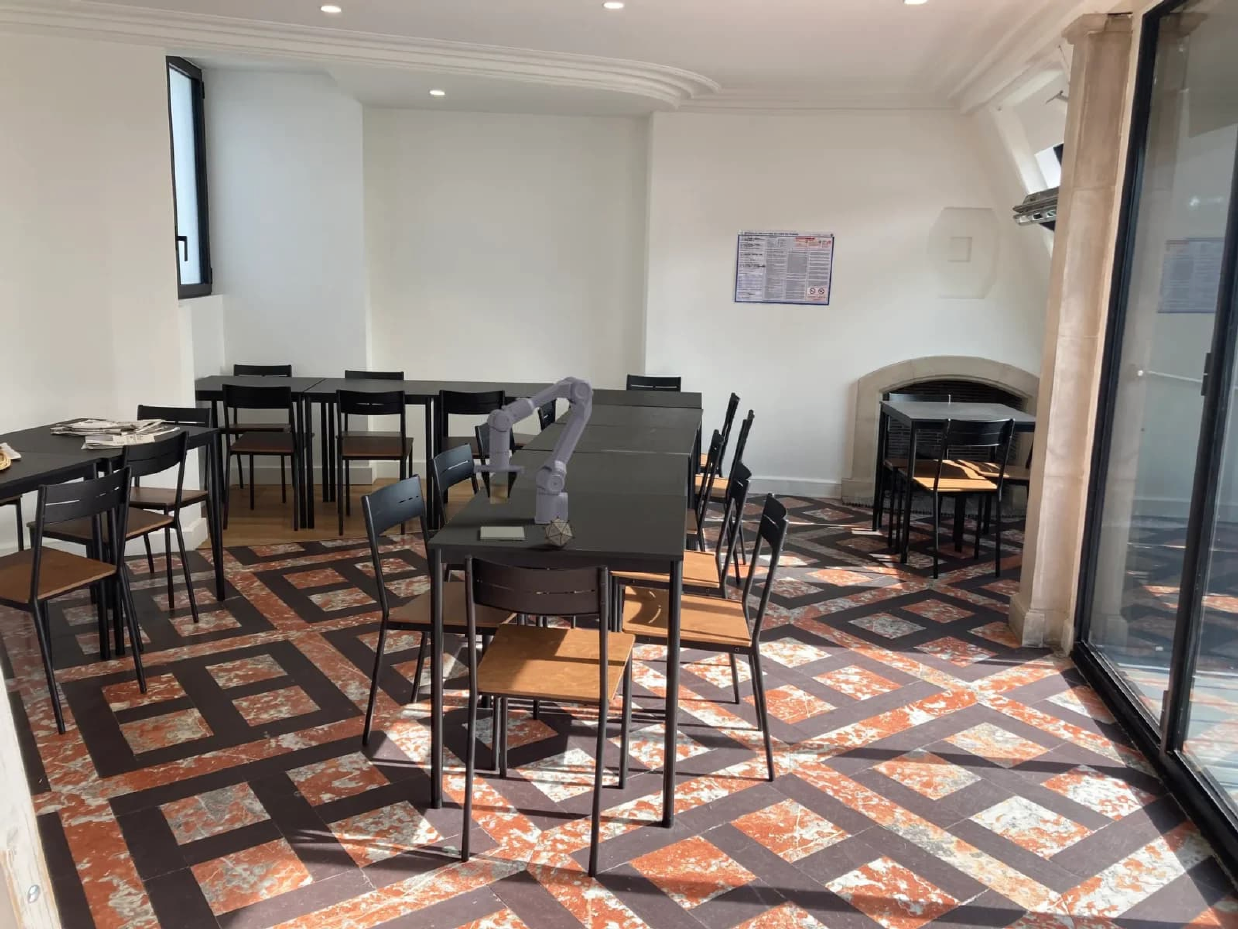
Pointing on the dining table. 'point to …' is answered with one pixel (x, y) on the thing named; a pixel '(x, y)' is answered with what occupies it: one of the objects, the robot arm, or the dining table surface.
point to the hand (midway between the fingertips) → (498, 497)
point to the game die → (558, 532)
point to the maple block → (498, 493)
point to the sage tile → (502, 533)
